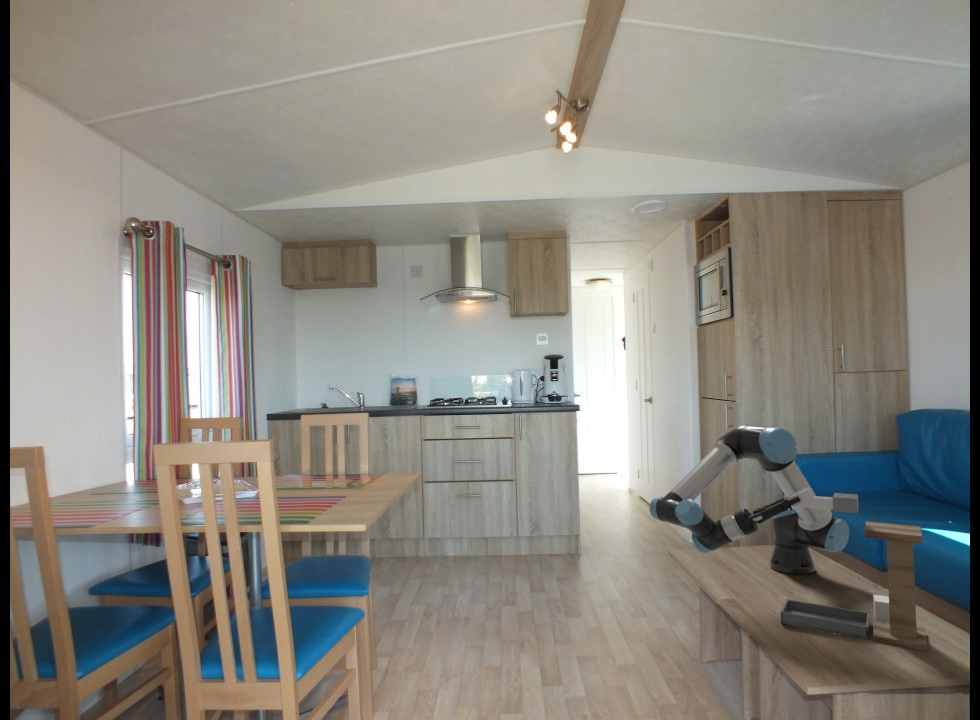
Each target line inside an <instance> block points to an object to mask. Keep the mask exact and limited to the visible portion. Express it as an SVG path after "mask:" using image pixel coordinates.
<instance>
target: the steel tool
mask: <svg viewBox="0 0 980 720" xmlns="http://www.w3.org/2000/svg"><path fill="white" fill-rule="evenodd" d="M793 495H794V494H784V495H783V498H784V500H787V501H788V499H787V498H789V497H791V496H793ZM795 507H807V508H818V509H830V510H831V511H832V512H837V513H838V512H840V513H849V514H850V513H851V514H858V512H859V495H858V494H856V493H843V492H842V493H841V492H839V493H838V492H834V493H833V496H832V497H831V496H821V495H820V496H818V495H816V496H813V498H811V499H809V500H807V501H805V502H802V503H800V504H798V505H796V506H795Z"/></svg>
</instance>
